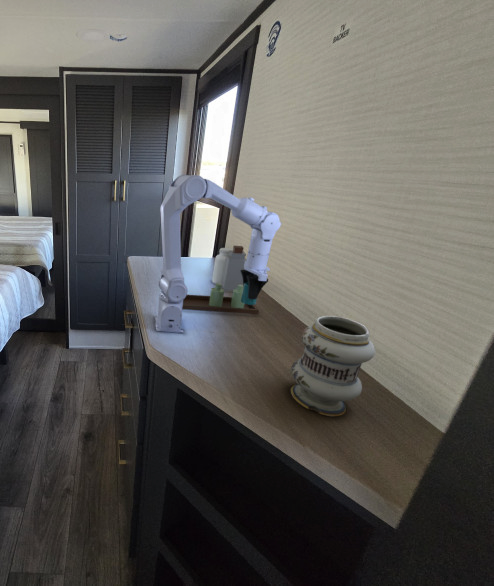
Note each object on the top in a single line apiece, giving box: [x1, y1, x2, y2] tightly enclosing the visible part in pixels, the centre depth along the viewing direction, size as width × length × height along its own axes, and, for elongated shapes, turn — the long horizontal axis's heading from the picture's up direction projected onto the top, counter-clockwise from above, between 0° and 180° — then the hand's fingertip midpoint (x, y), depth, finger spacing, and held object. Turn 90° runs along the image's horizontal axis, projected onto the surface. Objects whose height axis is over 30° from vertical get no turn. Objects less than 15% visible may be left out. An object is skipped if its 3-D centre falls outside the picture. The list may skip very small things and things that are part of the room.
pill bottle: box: [211, 247, 233, 285], centre depth 133 cm, size 8×8×15 cm
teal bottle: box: [241, 282, 259, 306], centre depth 96 cm, size 4×4×8 cm
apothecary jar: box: [290, 315, 376, 417], centre depth 63 cm, size 12×12×18 cm
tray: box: [182, 294, 260, 315], centre depth 111 cm, size 11×26×2 cm, turn 83°
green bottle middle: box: [209, 283, 225, 307], centre depth 109 cm, size 4×4×8 cm
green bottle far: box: [230, 285, 245, 308], centre depth 108 cm, size 4×4×8 cm
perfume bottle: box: [221, 245, 247, 292], centre depth 125 cm, size 7×7×18 cm
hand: (249, 295), depth 97 cm, fingers closed on teal bottle, 4 cm apart
